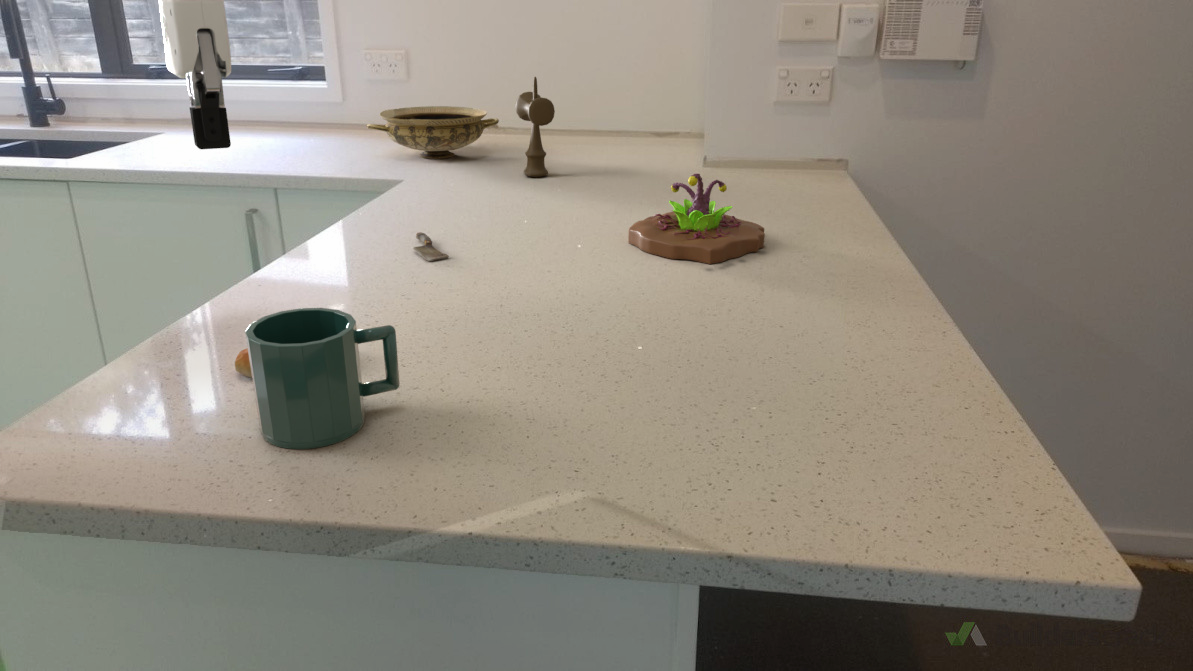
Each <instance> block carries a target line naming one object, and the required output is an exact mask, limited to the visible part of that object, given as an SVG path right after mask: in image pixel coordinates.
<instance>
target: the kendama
mask: <svg viewBox="0 0 1193 671" xmlns="http://www.w3.org/2000/svg"><path fill="white" fill-rule="evenodd" d="M537 79H538V78H537V76H533V81H532V91H525V92H523V93H521V94H519V95H518V97H517V98H516V101H515V112H516V115H517V116H518V118H519V119H521V120H523V121H525V122H526V121H527V122H531V130H530V131H531V132H530V139H529V144H528V148H527V150H526V151H525V153H524V154H525V157H526V159H527V164H526V167H525V169H524V170H523V174H524V175H525V176H526V177H530V178H543V177H546V176H548V175H549V171H548V169H547V168H546V165H545V158H546V156H547V152H546V151H545V150H544V147H543V142H542V136H541V129H540V127H542V126H547V125H549V124H551V123H552V121H553V119H554V118H555V111H556V110H555V105H554V103H553V102H552V100H551V99H549V98H547V97H541V95H540V94H538V80H537Z"/></svg>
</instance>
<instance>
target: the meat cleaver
mask: <svg viewBox="0 0 1193 671" xmlns="http://www.w3.org/2000/svg"><path fill="white" fill-rule="evenodd" d="M415 238H416V239H417V240H418V241H420V242H421V243H422V244H423V245H420V246H413V247H412V250H414V252H416V253H417V254H418V255H419V256H421V257H422V258H423V260H426V261H428V262H432V261H437V260H438V261H439V260H442V259H443V260H444V259H447V258H449V254H448V253H444V252H442V251H440V250H438V249H437V248H436V247H434V246H433V240H432V238H430V236H428V235H427V234H426V233H424V232H421V231H420V232H416V235H415Z"/></svg>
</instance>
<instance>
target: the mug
mask: <svg viewBox="0 0 1193 671" xmlns="http://www.w3.org/2000/svg"><path fill="white" fill-rule="evenodd" d="M244 333H245V340H246V348H248V354H249V360H250V367H251V373H252V378H251V380H252V385H253V392H254V399H255V405H256V412H257V417H258V419H257V420H258V424H259V427H260V434H261V436H262V438H263V439H264V440H265V441H266V442H267V443H268V444H270V445H273V446H275V447H278V448H282V449H288V450H289V449H290V450H309V449H311V450H312V449H318V448H324V447H328V446H331V445H334V444H338V443H340V442H343V441H345V440H347V439H349V438H351V437H352V436H355V435H356V433H358V432H359V431H360V430H361V429H362V427H363V425H364V424H365V412H366V411H365V400H364V397H369V396H373V395H378V394H383V393H384V394H385V393H388V392H389V393H390V392H393V391H397V390H398V389H399V388H400V384H401V383H400V370H399V369H400V368H399V357H398V356H399V355H398V344H397V331H396V328H395V327H394V326H393V325H390V324H387V325H381V326H375V327H370V328H363V329H358V328H357V321H356V319H355V318H354V316H352V314H350V313H347V312H345V311H342V310H340V309H334V308H326V307H302V308H301V307H300V308H294V309H287V310H281V311H278V312H274V313H271V314H268V315H265V316H262V317H261V318H259V319H256V320H254V321H253V322H251V323H249V325H248V327H247V328H246V330H245V332H244ZM377 341H382V350H383V361H384V362H383V363H384V373H385V378H383V379H379V380H374V381H369V382H363V381H362V370H361V359H360V349H359V348H360V347H359V345H361V344H365V343H371V342H377Z"/></svg>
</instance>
